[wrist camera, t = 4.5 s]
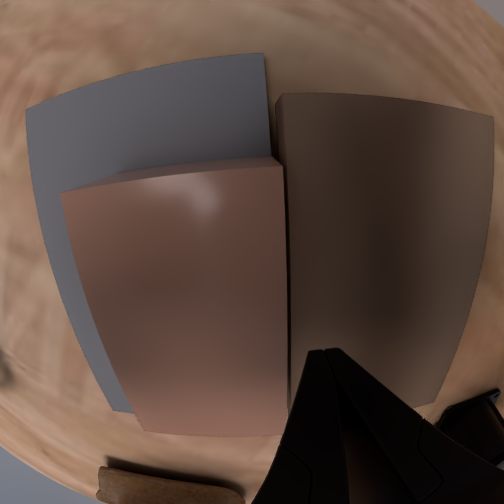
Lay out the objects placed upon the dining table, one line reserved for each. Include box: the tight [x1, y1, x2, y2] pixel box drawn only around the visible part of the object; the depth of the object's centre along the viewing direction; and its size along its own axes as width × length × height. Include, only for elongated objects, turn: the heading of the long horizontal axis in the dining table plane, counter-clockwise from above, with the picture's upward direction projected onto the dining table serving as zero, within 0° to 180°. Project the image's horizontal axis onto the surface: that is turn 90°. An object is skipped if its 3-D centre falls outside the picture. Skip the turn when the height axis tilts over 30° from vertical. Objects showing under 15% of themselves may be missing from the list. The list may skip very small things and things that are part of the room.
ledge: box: [275, 93, 494, 417], centre depth 11 cm, size 8×14×3 cm, turn 4°
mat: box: [25, 53, 271, 413], centre depth 13 cm, size 11×18×1 cm, turn 4°
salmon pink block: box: [60, 157, 287, 437], centre depth 10 cm, size 4×10×6 cm
